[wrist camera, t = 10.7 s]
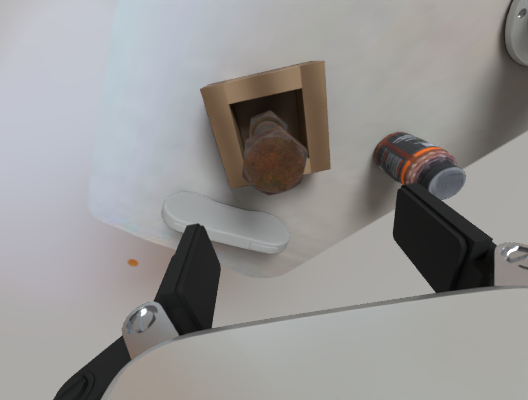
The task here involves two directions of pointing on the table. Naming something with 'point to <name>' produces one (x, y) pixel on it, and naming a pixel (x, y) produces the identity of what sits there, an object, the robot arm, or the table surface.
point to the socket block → (278, 101)
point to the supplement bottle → (419, 164)
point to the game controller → (226, 222)
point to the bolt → (272, 155)
